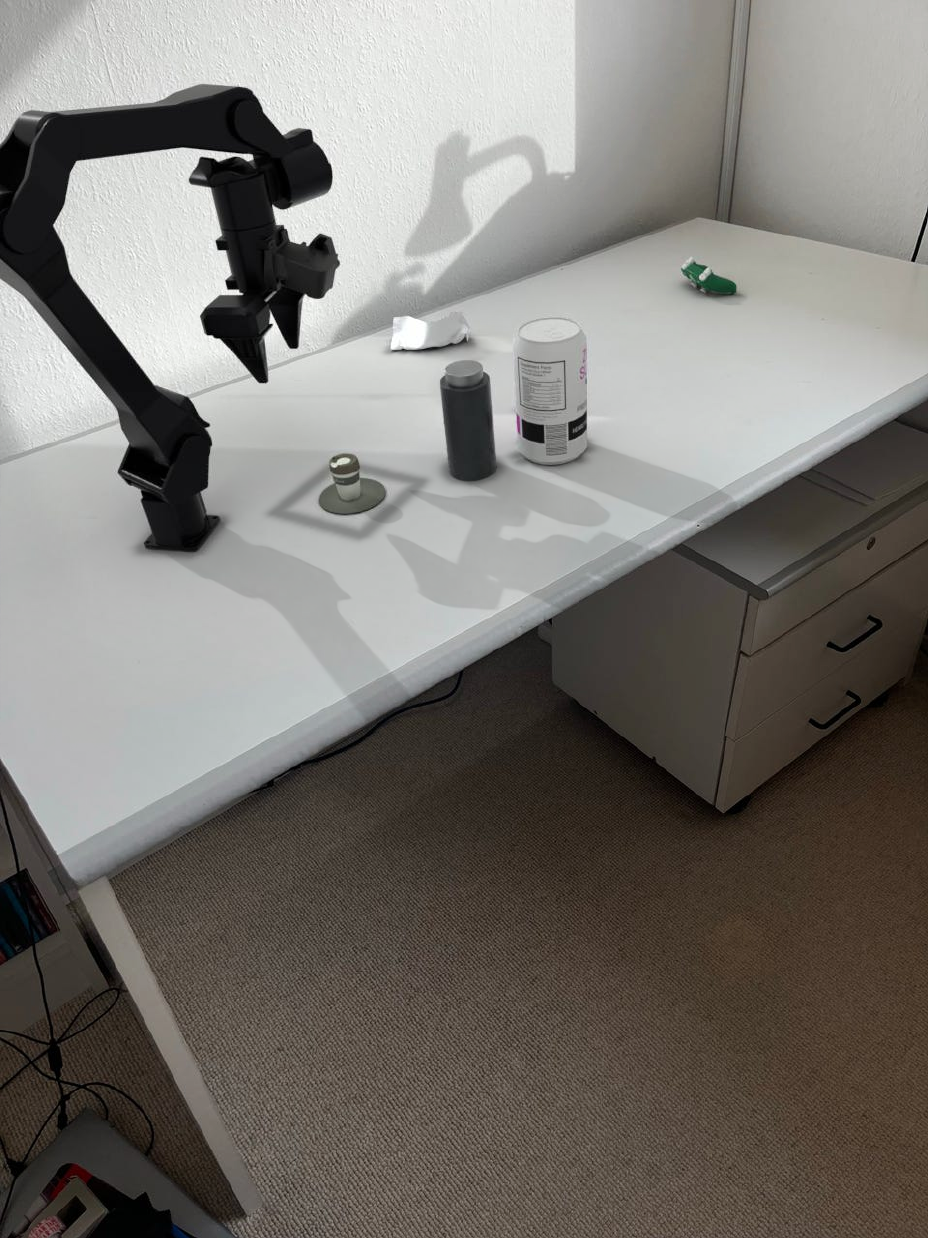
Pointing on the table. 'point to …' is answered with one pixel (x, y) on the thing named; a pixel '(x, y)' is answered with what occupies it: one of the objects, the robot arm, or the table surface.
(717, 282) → the green toy car
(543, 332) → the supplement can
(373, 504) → the coffee cup
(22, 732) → the table surface
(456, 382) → the flask
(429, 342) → the fabric
